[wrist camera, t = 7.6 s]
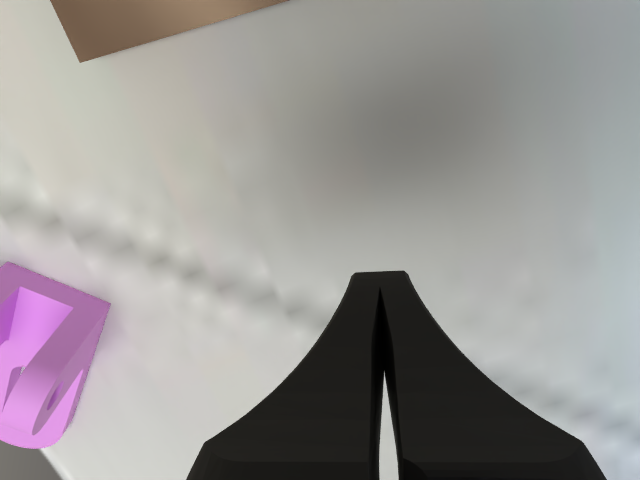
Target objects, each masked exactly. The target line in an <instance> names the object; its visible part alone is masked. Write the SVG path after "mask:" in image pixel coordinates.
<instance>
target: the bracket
mask: <svg viewBox="0 0 640 480" xmlns="http://www.w3.org/2000/svg"><path fill="white" fill-rule="evenodd" d="M110 304H111V303H108V302H106V301H103V300H101V299H98V298H96V297H94V296H91V295H89V294H86V293H84V292H81V291H79V290H76V289H74V288H71V287H69V286H67V285H64V284H62V283H59V282H57V281H54V280H52V279H49V278H47V277H44V276H42V275H40V274H37V273H35V272H32V271H30V270H27V269H25V268H22V267H20V266H18V265H15V264H13V263H10V262H6V263H5V264H4V265H3V266H2V267H1V268H0V440H2V441H4V442H7V443H9V444H12V445H15V446H19V447H24V448H45V447H48V446H51V445H53V444H55V443H56V442H58V441H59V439H60V438H61V437H62V435H63V433H64V432H65V430H66V429H67V427H68V425H69V424H70V422H71V421H72V418H73V416H74V413H75V410H76V407H77V404H78V401H79V398H80V395H81V392H82V389H83V386H84V383H85V380H86V377H87V374H88V371H89V367H90V364H91V361H92V358H93V355H94V352H95V349H96V346H97V343H98V340H99V337H100V334H101V331H102V328H103V325H104V322H105V319H106V316H107V313H108V310H109V307H110ZM22 366H24V367H26V368H25V369H24V371H23V372H22V374H21V375H20V371H21V367H22ZM19 376H20V377H19Z"/></svg>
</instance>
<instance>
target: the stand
mask: <svg viewBox="0 0 640 480" xmlns="http://www.w3.org/2000/svg"><path fill="white" fill-rule="evenodd" d="M50 1H51V3H52V5H53V7H54V9H55V11H56V13H57V16H58V18H59V20H60V22H61V24H62V26H63V28H64V30H65V32H66V34H67V37H68V39H69V41H70V43H71V45H72V47H73V49H74V51H75V53H76V55H77V58H78V60H79V62H80V63H81V62H84V61H88V60H91V59H94V58H98V57H101V56H104V55H108V54H111V53H115V52H118V51H121V50H125V49H128V48H131V47H135V46H138V45H141V44H145V43H148V42H151V41H155V40H158V39H161V38H165V37H168V36H171V35H175V34H178V33H181V32H185V31H188V30H191V29H195V28H198V27H201V26H205V25H208V24H211V23H215V22H218V21H222V20H225V19H228V18H232V17H235V16H238V15H242V14H245V13H248V12H252V11H255V10H258V9H262V8H265V7H268V6H272V5H275V4H278V3H282V2H285V1H288V0H50Z"/></svg>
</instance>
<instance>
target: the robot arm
mask: <svg viewBox="0 0 640 480" xmlns="http://www.w3.org/2000/svg"><path fill="white" fill-rule="evenodd" d="M384 371H385V378H386V385H387V391H388V398H389V404H390V411H391V417H392V424H393V431H394V437H395V444H396V451H397V460H398V474H399V480H607V479H606V478H605V476H604V474H603V473H602V471H601V469H600V468H599V466H598V465H597V463H596V461H595V460H594V458H593V457H592V455H591V454H590V452H589V451H588V449H587V448H586V446H585V445H584V443H583V442H582V441H581V440H579V439H577V438H575V437H574V436H572V435H570V434H569V433H567V432H565V431H564V430H562V429H560V428H558V427H557V426H555V425H553V424H552V423H550V422H548V421H546V420H545V419H543V418H541V417H540V416H538V415H537V414H535V413H534V412H532V411H531V410H529V409H528V408H527V407H525V406H524V405H522V404H521V403H519V402H518V401H516V400H515V399H514V398H513V397H511V396H510V395H509V394H507V393H506V392H505V391H504V390H502V389H501V388H500V387H499V386H497V385H496V384H495V383H494V382H492V381H491V380H490V379H489V378H488V377H487V376H486V375H485V374H483V373H482V372H481V371H480V370H479V369H478V368H477V367H476V366H475V365H474V364H473V363H472V362H471V361H470V360H469V359H468V358H467V357H466V356H465V355H464V354H463V353H462V352H461V351H460V350H459V349H458V348H457V347H456V345H455V344H454V343H453V342H452V341H451V340H450V338H449V337H448V336H447V335H446V334H445V332H444V331H443V330H442V329H441V327H440V326H439V325H438V323H437V322H436V321H435V319H434V318H433V317H432V315H431V314H430V312H429V311H428V309H427V308H426V307H425V305H424V303H423V302H422V300H421V299H420V297H419V295H418V294H417V292H416V290H415V288H414V286H413V285H412V282H411V280H410V278H409V275H408V274H407V273H406V272H405V271H383V272H358V273H354V274H353V275H352V276H351V279H350V282H349V285H348V287H347V290H346V292H345V294H344V296H343V298H342V300H341V302H340V304H339V306H338V308H337V310H336V311H335V313H334V315H333V317H332V319H331V320H330V322H329V324H328V325H327V327H326V328H325V330H324V331H323V333H322V334H321V336H320V337H319V339H318V340H317V342H316V343H315V344H314V346H313V347H312V348H311V350H310V351H309V352H308V354H307V355H306V356H305V357H304V359H303V360H302V361H301V362H300V363H299V364H298V366H297V367H296V368H295V369H294V370H293V371H292V372H291V373H290V374H289V375H288V377H287V378H286V379H285V380H284V381H283V382H282V383H281V384H280V385H279V386H278V387H277V388H276V389H275V390H274V391H273V392H272V393H271V394H269V395H268V396H267V397H266V398H265V399H264V400H262V401H261V402H260V403H259V404H258V405H257V406H255V407H254V408H253V409H252V410H251V411H249V412H248V413H247V414H246V415H244V416H243V417H242V418H240V419H239V420H238V421H236V422H235V423H233V424H232V425H230V426H229V427H227V428H226V429H224V430H223V431H222V432H220V433H219V434H217V435H216V436H214V437H213V438H211V439H209V440H208V441H206V442H205V443H204V444H203V446H202V448H201V450H200V452H199V454H198V456H197V458H196V460H195V462H194V464H193V466H192V468H191V471H190V473H189V475H188V477H187V479H186V480H379V444H380V429H381V413H382V398H383V382H384Z"/></svg>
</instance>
